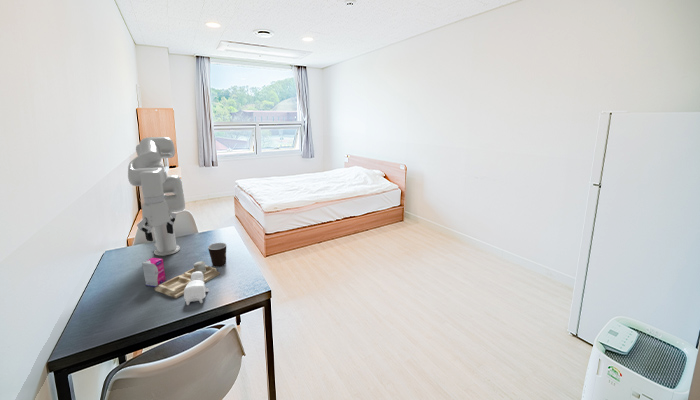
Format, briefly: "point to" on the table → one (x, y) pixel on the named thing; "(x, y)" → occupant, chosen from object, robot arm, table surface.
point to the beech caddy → (186, 280)
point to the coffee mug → (218, 254)
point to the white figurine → (195, 288)
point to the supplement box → (154, 272)
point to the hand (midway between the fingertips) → (160, 236)
